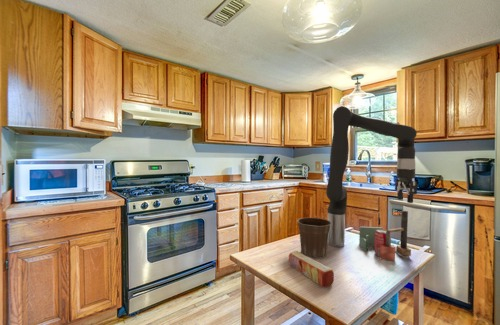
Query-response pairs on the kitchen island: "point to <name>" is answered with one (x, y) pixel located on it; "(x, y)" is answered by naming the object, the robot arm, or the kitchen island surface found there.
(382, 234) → the soda can
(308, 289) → the kitchen island surface
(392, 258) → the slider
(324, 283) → the snack package
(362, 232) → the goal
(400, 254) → the rail
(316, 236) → the plant pot
